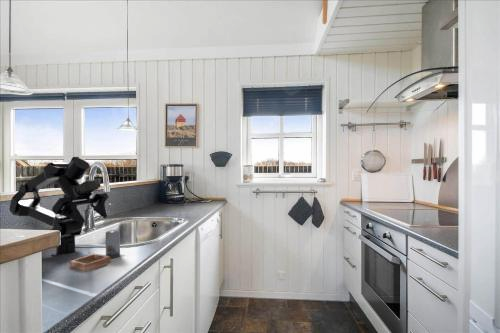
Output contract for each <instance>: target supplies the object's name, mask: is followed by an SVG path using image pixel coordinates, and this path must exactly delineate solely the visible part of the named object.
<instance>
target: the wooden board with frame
mask: <svg viewBox="0 0 500 333" xmlns="http://www.w3.org/2000/svg"><path fill="white" fill-rule="evenodd" d="M125 256H126V255H125V254H121V253H120V257H118V258H115V259H110V256H106V254H105V255H104V254H100V253H99V254H98V253H92V254H88V255H85V256H82V257H78V258H75V259H73V260H70V261H69V268H70V269H75V270H80V271H82V272H83V271H84V272H88V271H91V270H99V269H102V268H105V267H107V266H108V264H110V263H111V261H114V260H117V259H120V258H123V257H125Z"/></svg>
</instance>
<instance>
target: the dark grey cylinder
mask: <svg viewBox="0 0 500 333" xmlns="http://www.w3.org/2000/svg"><path fill="white" fill-rule="evenodd" d="M120 254H121V230H118V229H114V230H108V231H106V232H105V256H110V259H115V258H118V257H120ZM120 258H121V257H120ZM118 259H119V258H118ZM115 260H116V259H115Z"/></svg>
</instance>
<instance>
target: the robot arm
mask: <svg viewBox="0 0 500 333" xmlns="http://www.w3.org/2000/svg"><path fill="white" fill-rule="evenodd" d="M90 167H91V165H90V163H89V162H88V161H86V160H84V159H82V158H80V157H79V156H72V157H71V160H70V161H69V163H68V162H48V163H47V164H45V166H44V167H43V168H42V169H43V171H42V172H41V173H39V174H37V175H36V176H35V177H32V178H31V179H29V180H27V181H25V182H24V183H20V186H19V188H18V191H17V192H16V193H15V194H14V195H13V196H12V197H11V200H10V205H9V212H10V213H11V215H13V216H16V217H30V218H31V219H34V220H36V221H39V222H41V223H43V224H46V225H47V226H50V227H51V230H59V231H60V232H61V245H60V246H59V247H57V248H56V247H55V252H51V256H55V257H56V256H60V255H64V254H65V255H70V254H72V253H75V252H76V237H77V236H80V235H81V233H82V230H83V226H84V223H85V222H86V220H85V217H83V215H82V213H81V212H80V211H79V209H78V207H81V206H87V205H90V207H91V208H92V210H94V212H96V213H97V214H98V215H100V216H101V217H102V218H103V219H106V218H107V217H108V214H107V210H106V206H105V205H106V204H105V203H106V201H108V199H109V198H110V196H109V195H108V194H107V192H101V193H100V192H99V193H95V194H94V195H93V192H94V191H97V190H99V189H100V188H101V186H102V185H101V183H100V181H98V180H97V179H93V180H87V181H83V182H81V183H79V180H81V179H82V178H83V177H84V175H85V174H86V173H87V171H88V170H89V168H90ZM53 182H55V183H54V185H53V188H54V189H60V190H61V191H62V192H63V193H64V194H63V195H62V196H63V197H58V199H57V201H56V202H55V203H54V204H53V206H52V208H51V209H52V210H50V209H48V208H45V207H43V206H41V203H40V202H41V197H40V195H39V190H41V189H42V188H45V186H47V185H49V184H51V183H53ZM31 193H32V195H33V198H30V199H23V198H24V197H25V196H26V194H31ZM92 195H93V197H91V196H92Z"/></svg>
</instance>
